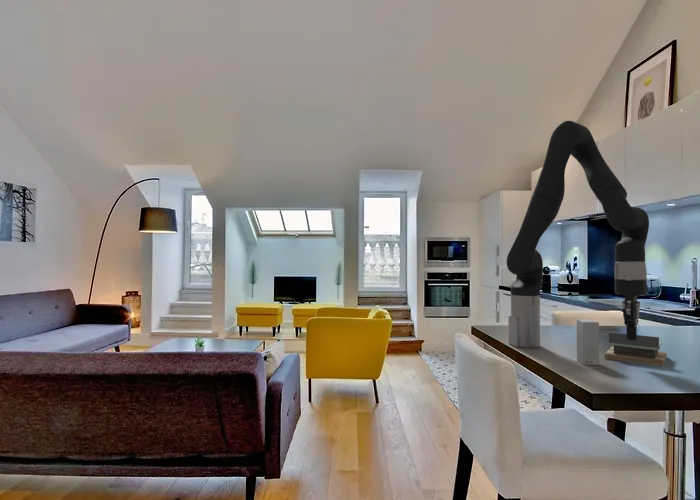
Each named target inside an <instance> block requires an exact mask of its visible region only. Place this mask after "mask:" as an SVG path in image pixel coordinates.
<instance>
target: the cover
mask: <svg viewBox="0 0 700 500" xmlns="http://www.w3.org/2000/svg"><path fill="white" fill-rule="evenodd" d="M608 345H609V346H614V345H616V346H625V347H633V348H642V349H651V350H658V351H660V350H661V347H662V345H663V341H661V340H660V337H659V336H652V335H643V334H642V335H641V334H640V335H639V334H637V339H636V340H635V341H634V340H628V339H627V333H621V332H608Z"/></svg>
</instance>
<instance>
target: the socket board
mask: <svg viewBox="0 0 700 500" xmlns="http://www.w3.org/2000/svg"><path fill="white" fill-rule="evenodd" d="M667 356H668V352H666V351H660V350H651V349H642V348H633V347H625V346H616V345H611V347H610V348H609V349H608V350H606V351H605V353H604V360H605V359H606V360H611V359H612V361H613V360H614V361H619V362H626V361H628V362H629V363H634V362H635V363H636V364H641V365H649V366H656V367H657V366H658V367H664V365H665V363H666V360H667ZM628 362H627V363H628Z"/></svg>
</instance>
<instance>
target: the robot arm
mask: <svg viewBox="0 0 700 500" xmlns="http://www.w3.org/2000/svg"><path fill="white" fill-rule="evenodd" d="M571 156H572V157H573V158H574V159H576V161H577V162H578V163H579V165H580V166H581V167H582V169H583V171H584V173H585V176H586V177H585V178H586V180H587V181H586V182H587V183H588V185H589V188H590V189H591V191H592V193H593V194H594V195H595V197H596V198H597V200H598V201H599V202H600V204H601V206H602V209H603V212H604V215H605V217H606V219H607V221H608V223H609V224H610V226H611V227H612V228H613V229H615V230H616V231H618V232H621V238H620V241H618V242H616V244H615V247H614V254H615V255H614V257H615V258H614V260H615V264H614V269H613V271H614V293H615V295H620V296H624V300H623V301H621V308H622V317H623V323H624V326H625V327H626V334H627V339H628V340H634V341H635V340H636V339H637V335H638V333H637V331H638V329H637V328H638V327H637V326H638V325H639V324H638V323H639V318H640V308H641V301H638V296H640V297H641V296H646V295H648V276H647V275H648V273H647V265H646V249H645V246H646V242H647V239H648V233H649V229H650V219H649V215H648V213H647V212H646V210H644V209H642V207H641V208H640V207H637V206H635V207H634V206H631V204H630V203H629V202H628V200H627V197H628V192H627V190H626V188H625V187H624V186H623V184H622V182H621V181H620V180H619V179H618V178H617V176H616V175H615V173H614V172H613V171H612V169H611V168H610V166H609V165H608V164H607V162H606V160H605V159H604V157H603V155H602V154H601V152H600V150H599V148H598V146H597V143H596V142H595V139H594V137H593V135H592V133H591V131H590V129H589V128H588V127H587V126H585V125H583V124H580V123H578V122H575V121H572V120H564V121H562V122H560V123H559V124H557V125H556V127H555V128H554V130H553V131H552V133H551V135H550V139H549V143H548V146H547V151H546V154H545V157H544V158H545V159H544V162H543V165H542V168H541V170H540V173H539V176H538V180H537V182H536V185H535V188H534V190H533V192H532V195H531V197H530V200H529V204H528V206H527V210H526V212H525V215H524V217H523V220H522V223H521V226H520V229H519V230H518V233H517V235H516V238H515V240H514V241H513V244H512V246H511V248H510V250H509V252H508V253H507V257H506V268H507V269H508V271H509V272H510V273H511V274H512V275H515V276H516V278H515V282H514V283H513V284H512V285H511V287H510V315H509V316H508V344H510V345H511V346H513V347H516V348H525V349H526V348H530V349H531V348H532V349H533V348H540V347H541V290H542V289H541V288H542V287H543V276H544V275H543V274H544V273H543V272H544V271H543V270H544V264H543V263H544V262H543V257H542V254H541V253H540V252H539V251H538V250H536V249H537V246H538V244H539V242H540V239H541V238H542V236H543V234H544V233H545V232H546V231H547V229H548V228H549V227H550V226H551V224H552V223H553V222H554V220H555V219H556V217H557V215H558V214H559V210H560V208H561V206H562V203H563V200H564V198H565V191H566V190H565V185H566V184H565V183H566V181H565V180H566V179H565V178H566V177H565V173H566V168H567V165H568V162H569V159H570V157H571Z"/></svg>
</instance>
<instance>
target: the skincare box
mask: <svg viewBox="0 0 700 500" xmlns="http://www.w3.org/2000/svg"><path fill="white" fill-rule="evenodd" d="M599 324H600V323H599V321H595V320H593V319H580V318H578V319H577V318H576V360H577V361H578V362H580V363H581V364H582V365H586V366H588V365H589V366H590V365H591V366H600V325H599Z"/></svg>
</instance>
